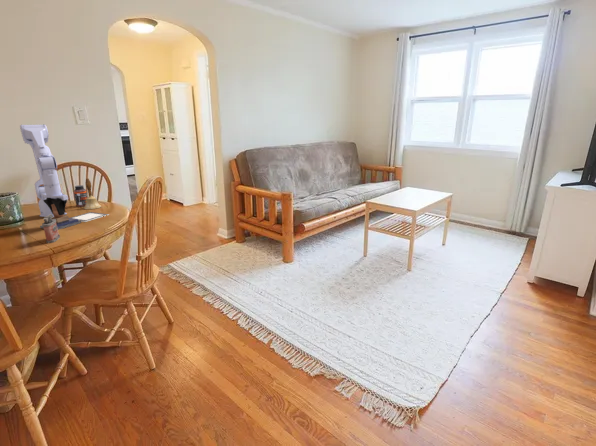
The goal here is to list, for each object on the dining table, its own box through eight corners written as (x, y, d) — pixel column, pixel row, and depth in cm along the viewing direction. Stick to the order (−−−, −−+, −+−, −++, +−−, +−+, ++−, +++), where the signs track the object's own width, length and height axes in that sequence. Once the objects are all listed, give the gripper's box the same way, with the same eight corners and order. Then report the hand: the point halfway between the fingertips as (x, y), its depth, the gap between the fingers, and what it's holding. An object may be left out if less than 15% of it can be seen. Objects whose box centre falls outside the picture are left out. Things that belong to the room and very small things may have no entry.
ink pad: (40, 228, 150) (39, 223, 149) (66, 220, 160) (65, 216, 160) (55, 230, 146) (54, 226, 146) (81, 222, 157) (80, 218, 156)
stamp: (50, 222, 151) (46, 205, 149) (62, 219, 156) (58, 202, 153) (58, 223, 149) (53, 206, 147) (69, 220, 154) (65, 203, 151)
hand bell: (91, 205, 188) (85, 177, 184) (104, 205, 187) (99, 177, 182) (80, 209, 181) (73, 179, 176) (93, 209, 179) (88, 180, 174)
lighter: (54, 242, 132) (48, 218, 129) (44, 243, 131) (38, 219, 128) (61, 236, 139) (56, 212, 136) (52, 236, 138) (46, 213, 135)
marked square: (66, 219, 163) (66, 218, 163) (91, 212, 174) (90, 211, 174) (85, 222, 158) (84, 221, 158) (109, 214, 169) (109, 214, 169)
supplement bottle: (83, 207, 185) (79, 187, 181) (74, 206, 186) (69, 186, 182) (91, 204, 190) (87, 184, 187) (82, 204, 191) (78, 184, 188)
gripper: (31, 185, 147) (39, 215, 151) (53, 187, 142) (60, 218, 146) (48, 182, 153) (54, 211, 157) (69, 184, 148) (76, 214, 152)
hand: (58, 214), depth 152 cm, fingers closed on stamp, 4 cm apart
